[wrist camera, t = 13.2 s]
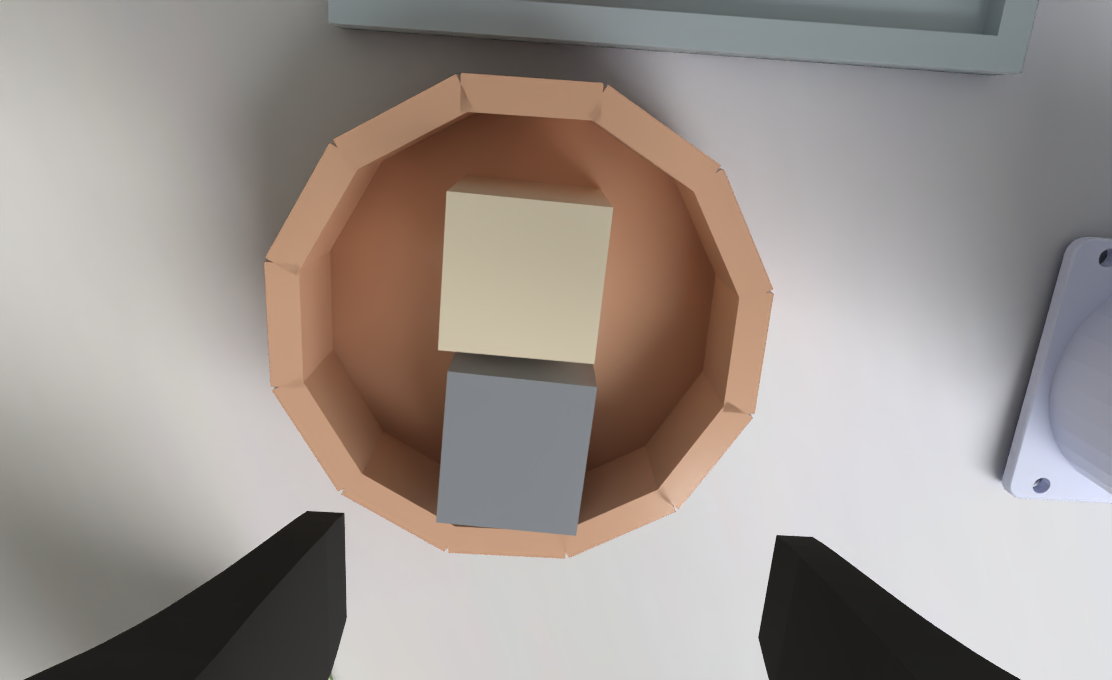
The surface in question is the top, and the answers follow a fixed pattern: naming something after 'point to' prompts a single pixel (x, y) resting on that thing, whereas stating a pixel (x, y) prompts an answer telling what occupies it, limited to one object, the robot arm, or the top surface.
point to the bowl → (415, 296)
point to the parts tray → (735, 27)
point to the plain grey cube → (515, 442)
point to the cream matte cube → (523, 268)
